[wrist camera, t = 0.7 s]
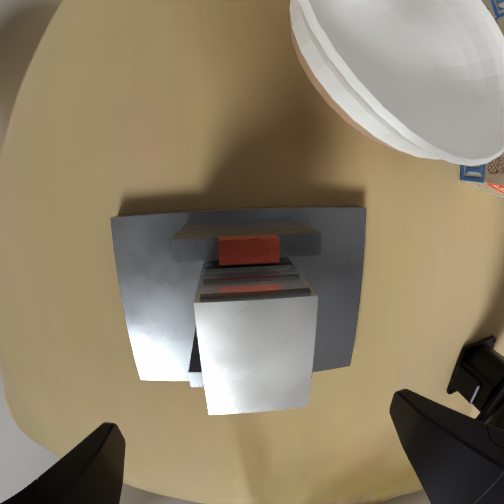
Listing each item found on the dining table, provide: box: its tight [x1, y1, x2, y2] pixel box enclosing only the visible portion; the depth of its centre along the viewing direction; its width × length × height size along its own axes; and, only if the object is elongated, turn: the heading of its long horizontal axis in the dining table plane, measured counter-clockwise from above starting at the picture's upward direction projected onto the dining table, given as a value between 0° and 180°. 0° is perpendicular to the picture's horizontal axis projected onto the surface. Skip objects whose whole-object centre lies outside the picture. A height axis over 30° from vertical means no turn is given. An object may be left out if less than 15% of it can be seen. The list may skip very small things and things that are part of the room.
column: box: [194, 257, 318, 415], centre depth 14 cm, size 4×5×8 cm
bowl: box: [289, 0, 504, 166], centre depth 12 cm, size 16×16×8 cm
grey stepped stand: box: [111, 206, 366, 387], centre depth 16 cm, size 16×12×7 cm
